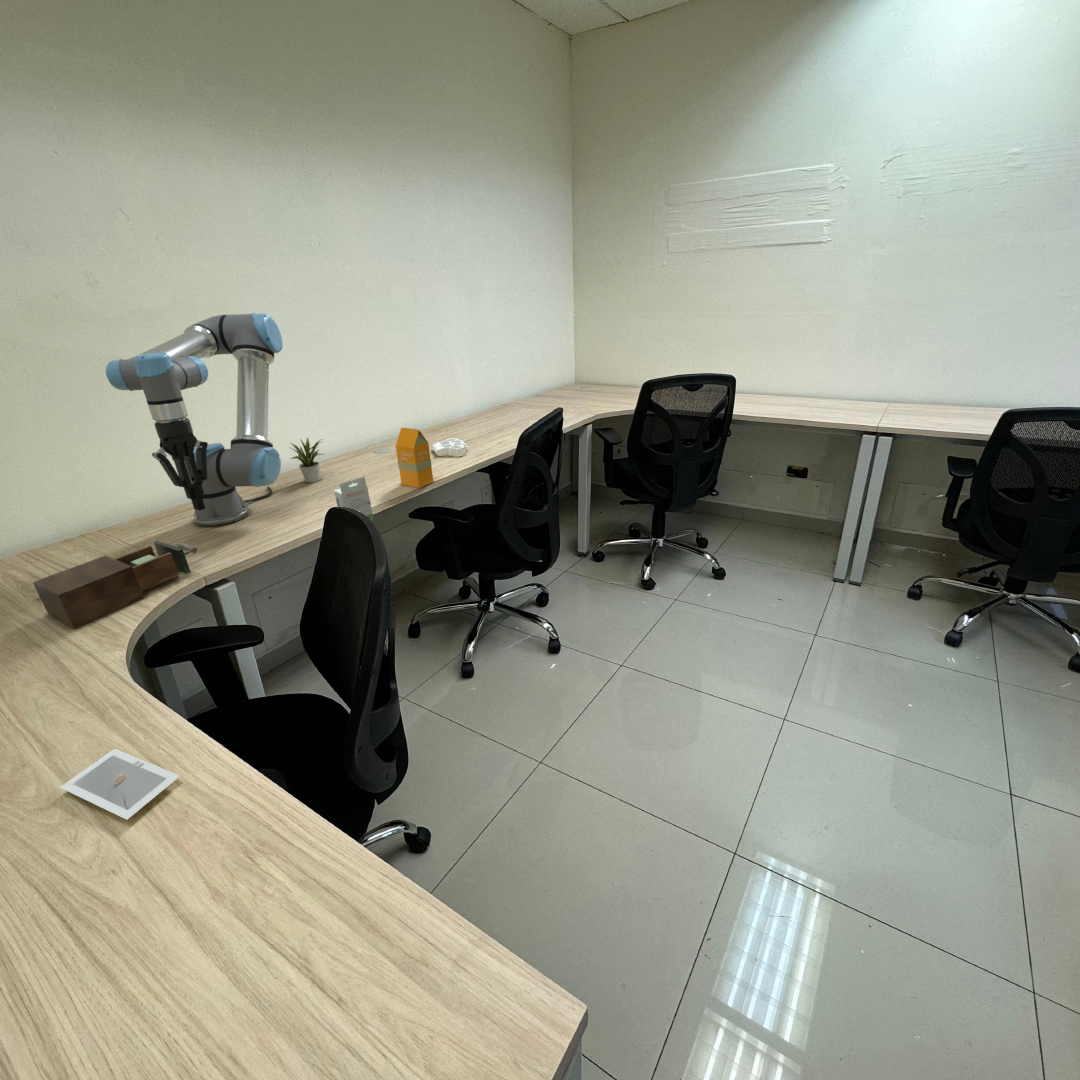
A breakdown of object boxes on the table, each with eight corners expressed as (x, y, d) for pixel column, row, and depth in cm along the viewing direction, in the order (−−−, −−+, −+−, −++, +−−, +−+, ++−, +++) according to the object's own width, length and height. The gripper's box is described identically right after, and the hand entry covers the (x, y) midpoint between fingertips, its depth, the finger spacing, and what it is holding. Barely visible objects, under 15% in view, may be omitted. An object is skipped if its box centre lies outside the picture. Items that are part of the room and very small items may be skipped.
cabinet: (117, 586, 138) (105, 555, 134) (144, 597, 132) (131, 566, 128) (48, 614, 127) (32, 582, 123) (74, 629, 121) (58, 595, 117)
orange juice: (419, 488, 196) (411, 432, 187) (401, 484, 200) (392, 430, 192) (433, 481, 202) (426, 427, 193) (416, 478, 206) (408, 424, 197)
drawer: (182, 556, 150) (174, 534, 147) (207, 565, 144) (199, 542, 141) (110, 586, 136) (100, 562, 133) (134, 597, 131) (124, 571, 128)
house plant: (339, 481, 206) (330, 438, 199) (300, 489, 199) (290, 445, 192) (328, 472, 217) (320, 431, 210) (291, 480, 210) (281, 437, 203)
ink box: (366, 517, 172) (358, 472, 166) (374, 521, 169) (366, 476, 163) (340, 526, 167) (330, 480, 161) (348, 530, 164) (338, 483, 157)
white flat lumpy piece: (431, 448, 243) (464, 444, 247) (437, 459, 227) (472, 454, 231) (430, 440, 241) (463, 436, 245) (436, 451, 226) (471, 446, 230)
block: (154, 569, 141) (149, 554, 139) (164, 573, 139) (158, 557, 137) (136, 577, 137) (130, 561, 136) (145, 581, 135) (139, 565, 133)
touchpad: (129, 825, 75) (124, 814, 74) (62, 792, 81) (56, 782, 80) (182, 781, 82) (178, 770, 81) (117, 753, 87) (112, 743, 86)
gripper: (189, 413, 142) (215, 498, 152) (135, 424, 132) (166, 515, 142) (205, 415, 139) (231, 502, 149) (151, 426, 129) (183, 519, 139)
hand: (199, 508), depth 146 cm, fingers closed
